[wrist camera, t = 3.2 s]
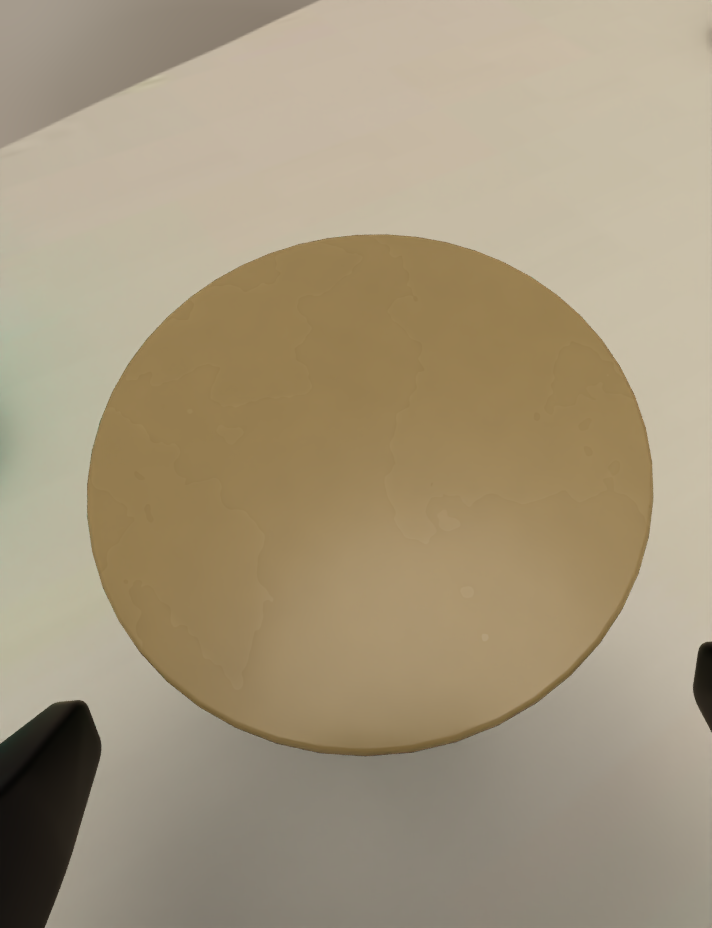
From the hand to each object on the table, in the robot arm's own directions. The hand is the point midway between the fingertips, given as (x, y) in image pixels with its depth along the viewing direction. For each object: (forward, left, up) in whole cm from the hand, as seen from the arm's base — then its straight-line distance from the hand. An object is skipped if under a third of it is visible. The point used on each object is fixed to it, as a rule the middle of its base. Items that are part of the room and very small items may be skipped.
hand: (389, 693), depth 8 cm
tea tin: (+2, +1, -10) cm, 10 cm away
